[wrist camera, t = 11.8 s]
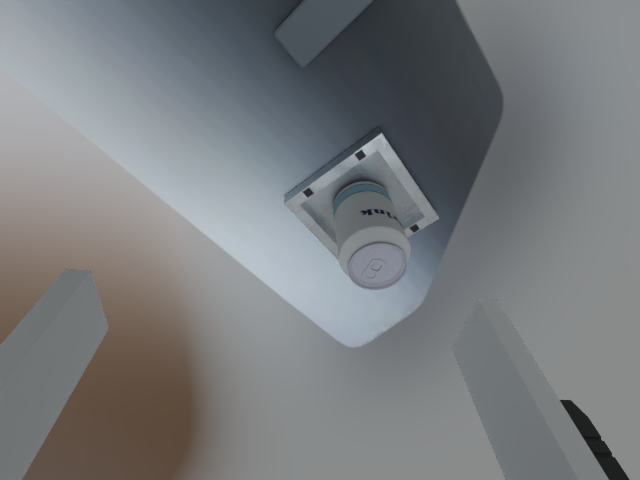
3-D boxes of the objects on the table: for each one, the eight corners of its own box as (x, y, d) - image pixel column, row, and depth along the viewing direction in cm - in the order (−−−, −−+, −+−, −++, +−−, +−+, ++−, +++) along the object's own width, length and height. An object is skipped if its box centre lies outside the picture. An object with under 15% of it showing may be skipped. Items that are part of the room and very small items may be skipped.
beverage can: (400, 189, 42) (429, 250, 32) (373, 234, 45) (392, 302, 36) (347, 168, 40) (360, 227, 30) (323, 217, 44) (328, 284, 34)
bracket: (273, 31, 33) (272, 34, 31) (363, -66, 29) (367, -69, 28) (302, 66, 35) (302, 70, 33) (391, -21, 31) (395, -21, 29)
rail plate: (284, 195, 42) (284, 203, 40) (378, 126, 38) (381, 133, 36) (348, 262, 48) (349, 272, 46) (434, 209, 44) (439, 218, 42)
